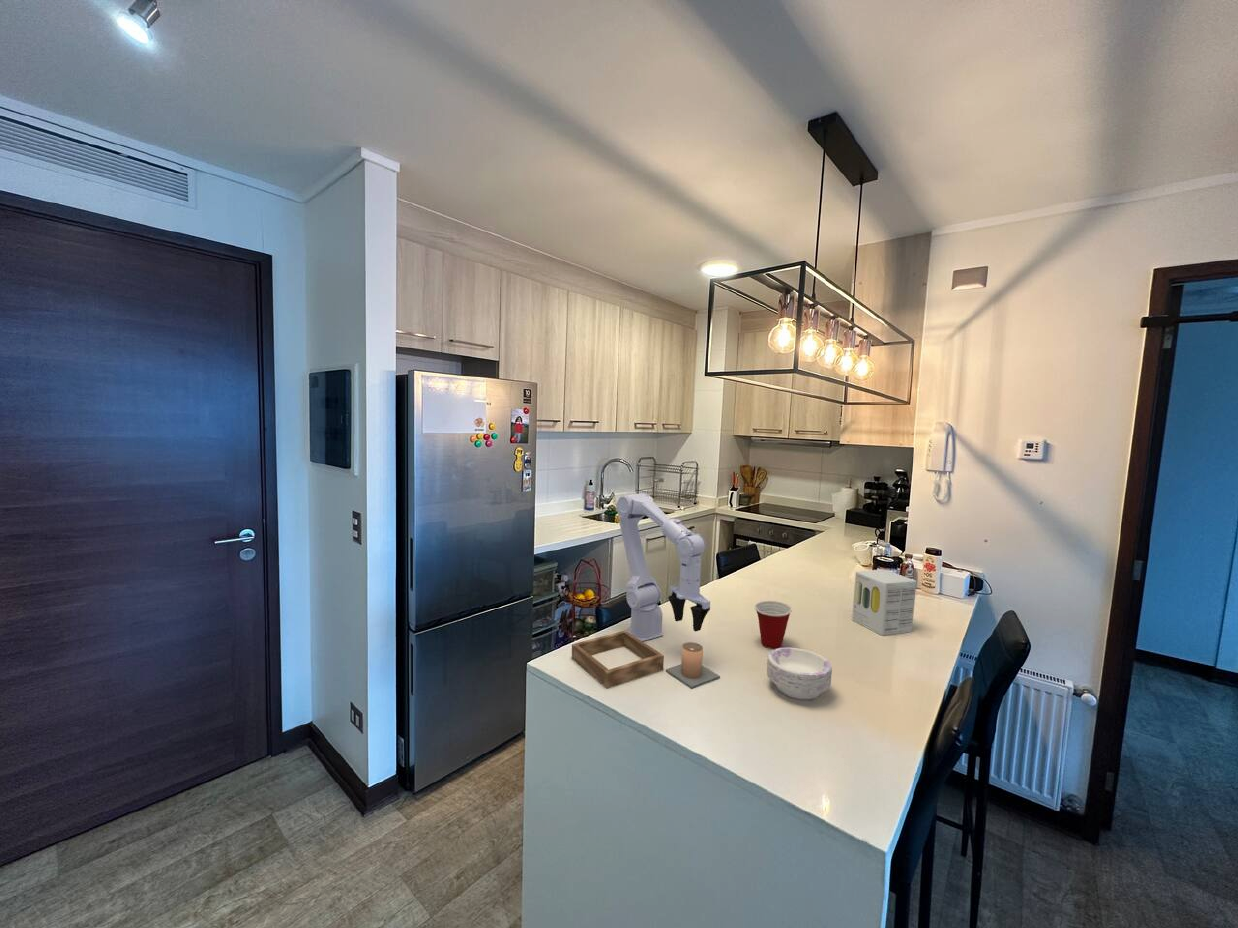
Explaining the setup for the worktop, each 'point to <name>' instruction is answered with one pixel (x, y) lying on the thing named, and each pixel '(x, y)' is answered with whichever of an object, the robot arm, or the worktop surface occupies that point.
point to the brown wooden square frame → (621, 674)
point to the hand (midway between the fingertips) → (687, 625)
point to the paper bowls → (799, 672)
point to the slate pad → (690, 682)
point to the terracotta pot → (692, 660)
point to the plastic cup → (772, 622)
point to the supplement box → (884, 601)
